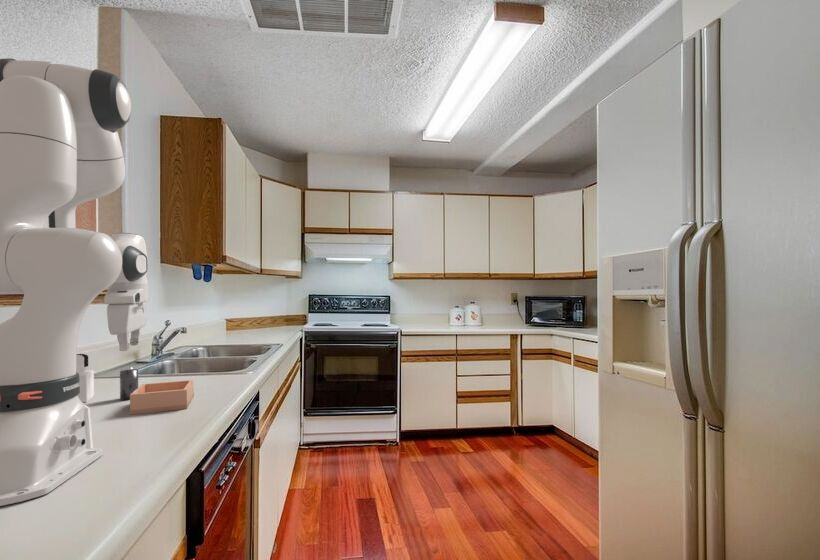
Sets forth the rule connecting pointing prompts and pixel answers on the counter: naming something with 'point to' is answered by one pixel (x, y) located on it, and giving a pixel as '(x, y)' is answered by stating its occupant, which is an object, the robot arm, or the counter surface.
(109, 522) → the counter surface
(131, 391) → the battery cell
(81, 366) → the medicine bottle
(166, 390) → the tray
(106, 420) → the counter surface
